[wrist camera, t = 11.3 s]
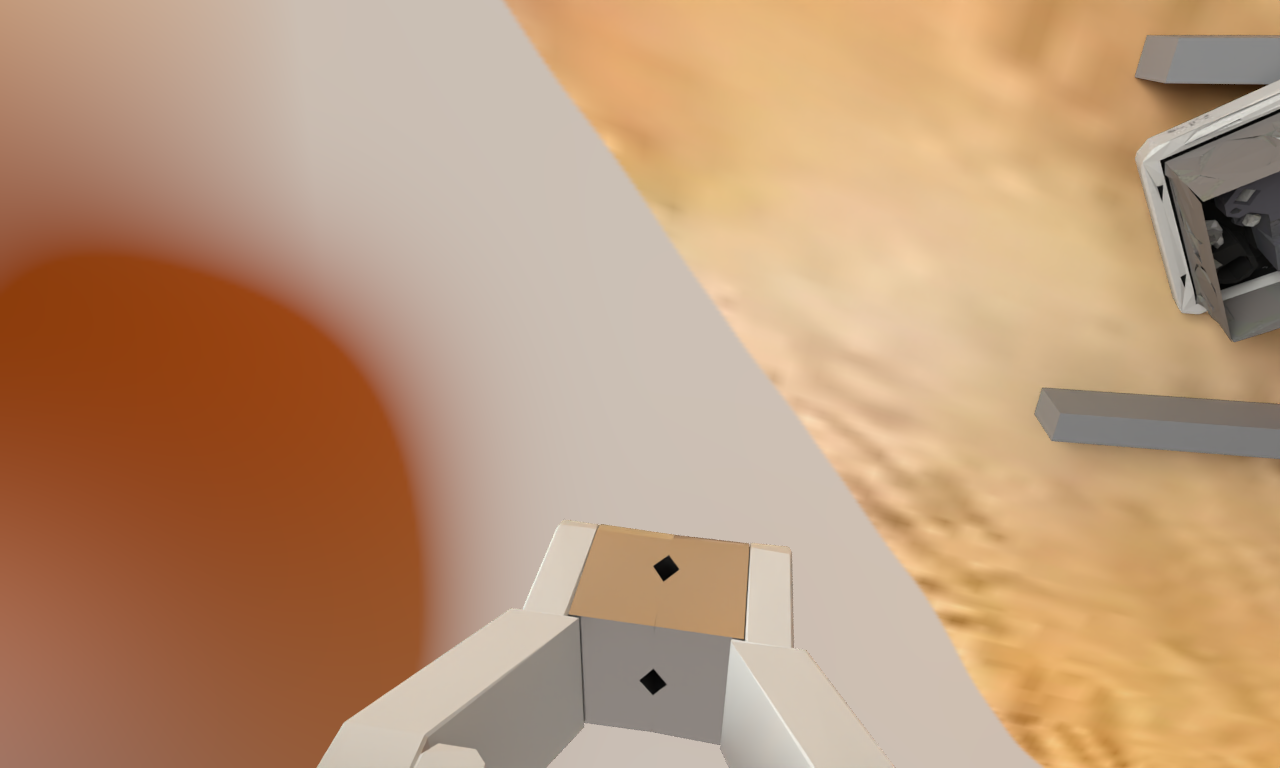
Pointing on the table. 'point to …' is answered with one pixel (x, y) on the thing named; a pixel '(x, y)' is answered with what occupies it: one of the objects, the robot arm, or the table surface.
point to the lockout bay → (1162, 416)
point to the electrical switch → (1220, 211)
